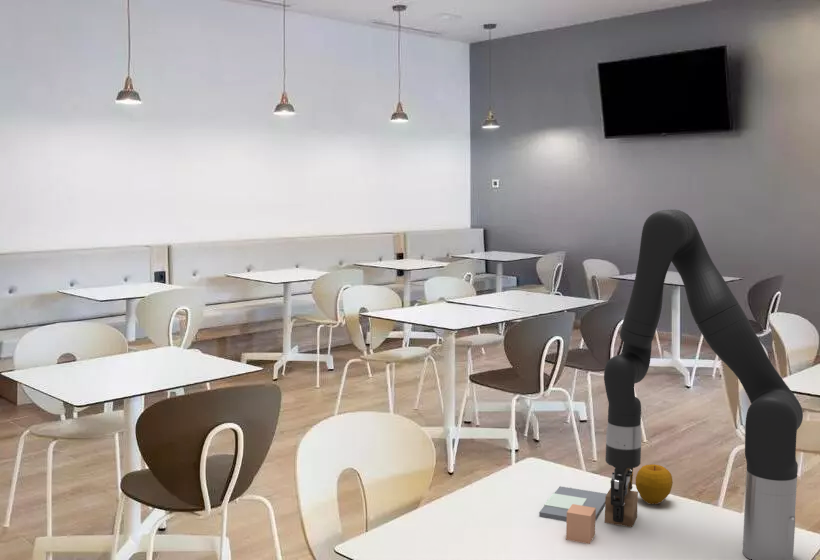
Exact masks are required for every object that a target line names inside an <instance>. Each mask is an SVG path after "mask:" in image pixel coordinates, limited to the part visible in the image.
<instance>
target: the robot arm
mask: <svg viewBox="0 0 820 560" xmlns="http://www.w3.org/2000/svg"><path fill="white" fill-rule="evenodd" d="M671 263H672V264H673V266H674V268H675V269H676V271H677V273H678V274H679V276H680V278H681V280H682V283H683V286H684V290H685V295H686V299H687V303H688V307H689V310H690V313H691V316H692V318H693V320H694V321H695V324H696V326H697V328H698V330H699V331H700V333H701V335H702V336H703V338H704V340H705V342H706V343H707V344H708V346H709V347H710V349H711V350H712V352H714V353H715V354H716V356H717V357H718V358H719V359H720V360H721V361H722V363H724V364H725V365H726V366H727V367H728V368H729V369H730V370H731V372H732V373H733V374H734V375H735V376H736V378H737V379H738V380H739V382H740V384H741V386H742V387H743V390H744V391H745V393H746V395H747V398H748V400H749V402H750V405H749V406H748V408H747V412H746V415H745V416H746V417H745V428H744V435H745V436H744V457H745V460H746V473H745V474H746V477H745V491H744V493H745V495H744V513H743V514H744V516H743V535H742V554H743V556H745V557H746V558H747V559H749V560H751V559H752V560H794V551H795V550H794V547H795V545H794V544H795V533H796V532H795V529H796V507H797V506H796V504H797V503H796V502H797V487H798V485H797V484H798V469H799V464H798V462H797V455H796V452H797V436H798V435H797V434H798V433H797V432H798V430H799V428H800V427H801V425H802V423H803V419H804V414H803V413H804V411H803V409H802V408H803V407H802V405H801V403H800V401H799V400H798V398H797V397H796V395H795V394H794V393H793V392H792V390H791V389H790V387H789V386H788V384H787V383H786V382H785V380H784V379H783V378H782V376H781V375H780V374H779V372H778V371H777V369H776V368H775V366H774V365H773V363H772V362H771V360H770V359H769V356H768V355H767V353H766V351H765V348H764V346H763V344H762V342H761V341H760V338H759V337H758V335H757V333H756V331H755V329H754V328H753V326H752V324H751V322H750V320H749V318H748V317H747V315H746V314H745V311H744V310H743V308H742V307H741V304H740V303H739V302H738V300H737V298H736V297H735V295H734V293H733V292H732V290H731V289H730V286H729V285H728V284H727V282H726V280H725V279H724V277H723V276H722V274H721V273H720V271H719V269H718V268H717V266H716V265H715V263H714V262H713V260H712V258H711V256H710V254H709V253H708V249H707V248H706V245H705V244H704V241H703V239H702V236H701V234H700V232H699V229H698V227H697V225H696V222H695V221H694V220H693V218H692V217H691V216H690V215H689V214H687V213H686V212H685V211H682V210H680V209H663V210H658V211H655V212H653V213H651V215H649V216H648V217H647V218H646V220H645V221H644V224H643V226H642V231H641V237H640V245H639V255H638V261H637V267H636V272H635V277H634V282H633V286H632V290H631V294H630V297H629V302H628V304H627V309H626V311H625V315H624V317H623V322H622V324H621V328H620V332H619V337H620V340H621V341H622V346H621V347H622V348H621V352H620V353H619V354H617V355H615V356H612V357H610V358H609V359H608V361H607V362H606V364H605V366H604V372H603V381H604V388H605V393H606V397H607V402H608V406H607V407H608V409H607V410H608V411H607V427H606V432H605V433H606V434H605V462H606V464H607V465H609V466H612V467H613V468H614V471H613V472H611V479H610V488H611V501H610V503H611V505H613V521H615V522H620V523H622V522H623V520H624V505H625V496H627V495H628V491H633V490H632V489H633V481H634V480H633V479H634V478H633V477H634V468H638V467H639V466H640V465H641V460H642V458H641V457H642V427H641V426H642V425H641V423H642V404H641V400H640V399H639V398H638V397H637V396H636V392H635V385H636V384H637V383H640V382H641V381H642V380H643V379H644V378H645V377H646V376H647V373H648V371H649V367H650V364H651V357H652V344H653V340H654V337H655V335H656V331H657V328H658V325H659V321H660V319H661V313H662V307H663V298H664V287H665V281H666V276H667V273H668V270H669V267H670V266H671ZM623 490H625V491H623ZM616 496H619V497H620V500H616Z"/></svg>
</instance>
